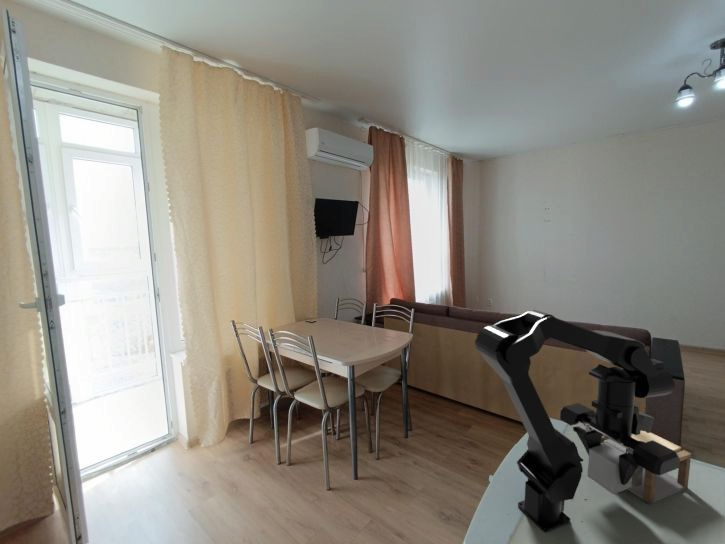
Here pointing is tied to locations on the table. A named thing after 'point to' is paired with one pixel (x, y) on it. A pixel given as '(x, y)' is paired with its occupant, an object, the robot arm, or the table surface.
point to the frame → (651, 478)
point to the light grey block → (606, 468)
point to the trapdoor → (645, 438)
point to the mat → (659, 487)
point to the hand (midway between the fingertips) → (609, 474)
